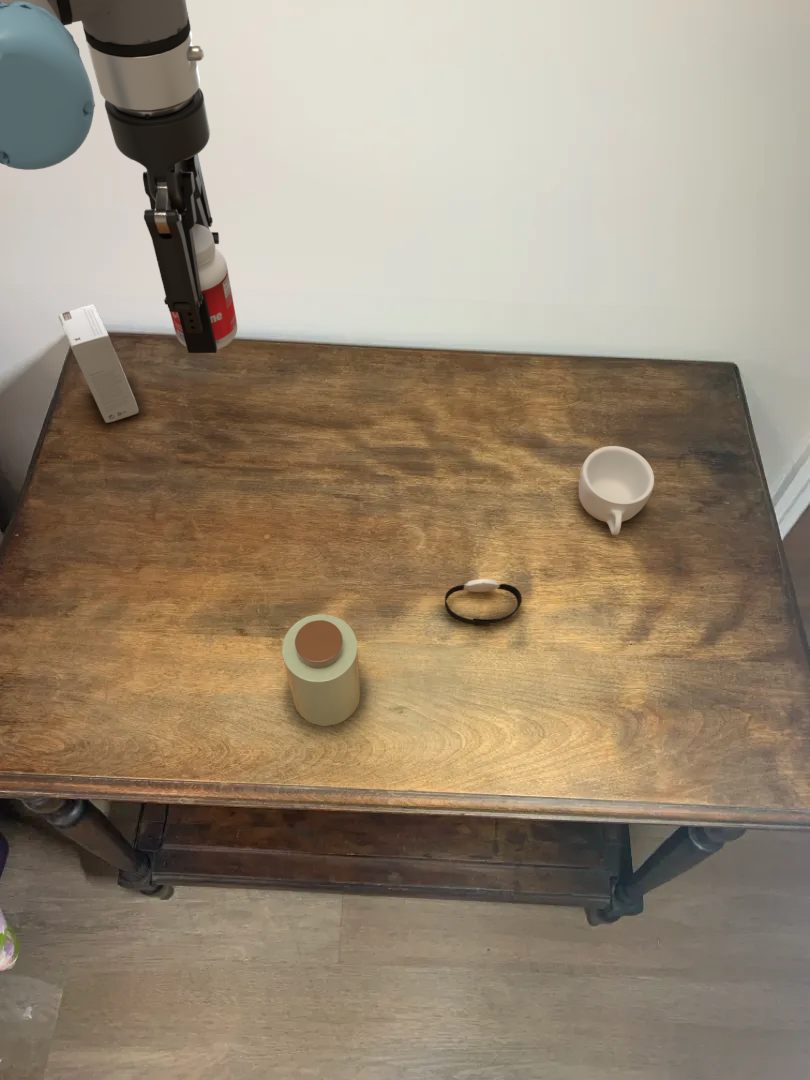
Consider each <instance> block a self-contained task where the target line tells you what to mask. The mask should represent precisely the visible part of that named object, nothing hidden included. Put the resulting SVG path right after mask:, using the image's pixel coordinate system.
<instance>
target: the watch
mask: <svg viewBox="0 0 810 1080" xmlns="http://www.w3.org/2000/svg"><path fill="white" fill-rule="evenodd" d="M494 590H501V591H502V590H503V591H506V592H509V593H510V594H512V595H513V596H514V597H515V599H516V602H517V603H516V608H515V610H513V611H512V612H511V613H510V614H507V615H506V616H503V617H497V618H478V617H477V618H474V617H473V618H472V619H470V618H467V617H464V616H461V615H460V614H459V615H458V614H456V613H455V612H454V611H452V609H451V608H450V607H449V605H448V602H447V601H448V599H449V597H450V596H451V595H452V594H454V593H456V592H460V591H468V592H472V593H473V592H474V593H484V592H490V591H494ZM522 599H523V597H522V594H521V592H520V590H519V589H518V588H517V587H516V586H513V585H511V584H507V583H498V581H497V580H496V579H491V578H477V579H472V580H469V581H467V582H466V583H465V584H459V585H455V586H453V587H451V588H450V589H449V590H447V592H446V594H445V596H444V606H445V607H444V608H445V610H446V612H447V613H448V615H449V616H450V617H452V619H454V620H456V621H458V622H460V623H464V624H468V625H473V626H476V627H478V626H485V627H488V626H490V625H491V624H499V623H502V622H505V621H507V620H508V619H510V618H511V617H513V616H514V615H515V613H517V611H518V610H519V608H520V607H521V604H522V601H523V600H522Z"/></svg>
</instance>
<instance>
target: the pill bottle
mask: <svg viewBox="0 0 810 1080" xmlns="http://www.w3.org/2000/svg"><path fill="white" fill-rule="evenodd" d="M192 231H193V238H194V245H195V252H196V259H197V266H198V273H199V280H200V286H201V293H202V294H205V296H206V300H207V305H208V309H209V314H210V318H211V323H212V327H213V332H214V337H215V341H216V346H217V350H220V349H223V348H225V347H227V346H228V345H229V344H230V343H232V341H233V340H234V339H235V337H236V335H237V332H238V321H237V315H236V309H235V303H234V297H233V292H232V287H231V281H230V276H229V270H228V269H229V268H228V265H227V261H226V257H224V255H223V253H222V252H220V251H219V250H218V249H217V248H216V244H215V243H214V239H213V235H212V233H211V232H212V231H211V230H210V228H209V229H208V228H206V227H204V226H202V225H199V224H194V226H193V227H192ZM169 313H170V317H171V321H172V324H173V325H172V326H173V329H174V333H175V336H176V338H177V340H178V342H180V344H181V345H183V346H184V347H185V348H187V346H186V342H185V338H184V335H183V331H182V327H181V323H180V319H179V315H178V312H170V311H169Z"/></svg>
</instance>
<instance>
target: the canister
mask: <svg viewBox="0 0 810 1080" xmlns="http://www.w3.org/2000/svg"><path fill="white" fill-rule="evenodd" d="M358 651H359V650H358V641H357V637H356V634H355V632H354V630H353V629H352V628H351V626H350V625H349V624H348V623H347V622H346V621H344V620H343V619H341V618H339V617H337V616H334V615H331V614H330V615H329V614H325V613H324V614H322V613H321V614H313V615H308V616H306V617H303V618H301V619H300V620H298V621H296V622H295V623H294V624H293V625H292V626H291V627H290V628H289V629H288V630H287V632H286V635H285V636H284V638H283V641H282V646H281V654H282V660H283V664H284V667H285V671H286V676H287V680H288V685H289V689H290V692H291V696H292V701H293V704H294V707H295V710H296V711H297V713H298V714H299V715H300V717H302V718H303V719H304V720H305V721H307V722H309V723H311V724H312V725H316V726H323V727H329V726H335V725H338V724H340V723H342V722H344V721H345V720H347V719H349V718H350V717H351V716H352V715H353V714H354V712H355V711H356V709H357V708H358V706H359V703H360V701H361V700H360V699H361V679H360V666H359V652H358Z"/></svg>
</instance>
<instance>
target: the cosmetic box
mask: <svg viewBox="0 0 810 1080" xmlns="http://www.w3.org/2000/svg"><path fill="white" fill-rule="evenodd" d="M58 319H59V322H60V324H61V326H62V331H63V333H64V334H65V336H66V338H67V341H68V344H69V346H70V348H71V350H72V353H73V355H74V357H75V360H76V361H77V364H78V366H79V369H80V371H81V373H82V375H83V378H84V379H85V382H86V384H87V386H88V388H89V390H90V392H91V394H92V397H93V399H94V401H95V404H96V405H97V408H98V411H99V412H100V414H101V416H102V418H103V420H104V422H105V423H106V424H109V423H113V422H116V421H120V420H123V419H125V418H126V419H127V418H128V417H132V416H134V415H137V414H139V411H140V410H139V407H138V404H137V401H136V398H135V396H134V393H133V391H132V387H131V386H130V384H129V381H128V378H127V376H126V374H125V371H124V369H123V366H122V363H121V361H120V359H119V356H118V355H117V352H116V350H115V348H114V346H113V343H112V340H111V338H110V335H109V333H108V331H107V329H106V326H105V324H104V322H103V320H102V318H101V316H100V314H99V312H98V309H97V308H96V306H95V303H94V304H93V303H92V304H87V305H84V306H82V307H78V308H75V309H71V310H68V311H66V312H63V313H60V314H58Z"/></svg>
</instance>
